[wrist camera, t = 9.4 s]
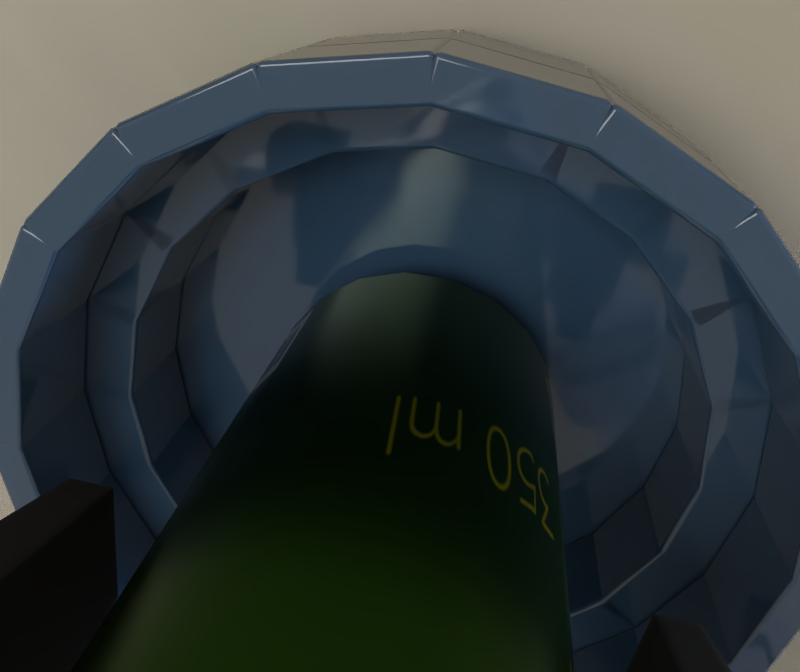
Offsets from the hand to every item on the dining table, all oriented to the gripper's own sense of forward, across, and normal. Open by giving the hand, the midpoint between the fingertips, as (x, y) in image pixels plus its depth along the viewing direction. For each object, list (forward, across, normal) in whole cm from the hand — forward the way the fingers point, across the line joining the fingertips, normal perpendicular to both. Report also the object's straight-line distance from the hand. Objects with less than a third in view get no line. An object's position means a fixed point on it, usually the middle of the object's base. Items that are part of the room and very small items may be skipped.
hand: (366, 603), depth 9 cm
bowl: (+6, 0, 0) cm, 6 cm away
